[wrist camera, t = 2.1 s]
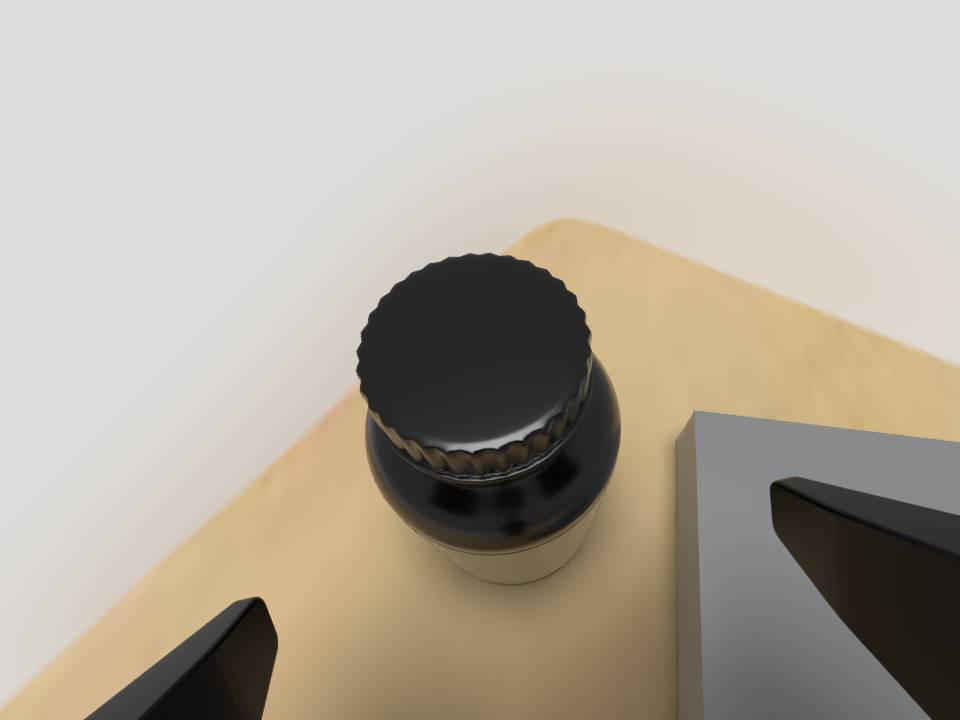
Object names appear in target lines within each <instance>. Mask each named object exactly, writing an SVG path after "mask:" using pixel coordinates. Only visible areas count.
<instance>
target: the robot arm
mask: <svg viewBox="0 0 960 720" xmlns="http://www.w3.org/2000/svg"><path fill="white" fill-rule="evenodd" d="M770 503H771V515H772V524H773V528H774V531H775V533H776V535H777V537H778V538H779V540H780V541H781V542H782V543H783V545H784V546H785V547H786V549H787V550H788V551H789V553H790V554H791V555H792V557H793V558H794V559H795V561H796V562H797V563H798V565H799V566H800V567H801V569H802V570H803V571H804V573H805V574H806V575H807V577H808V578H809V579H810V580H811V582H812V583H813V584H814V586H815V587H816V588H817V590H818V591H819V592H820V594H821V595H822V596H823V598H824V599H825V600H826V602H827V603H828V604H829V606H830V607H831V608H832V609H833V611H834V612H835V613H836V614H837V615H838V617H839V618H840V619H841V620H842V621H843V623H844V624H845V625H846V626H847V627H848V628H849V629H850V631H851V632H852V633H853V634H854V635H855V636H856V637H857V638H858V639H859V641H860V642H861V643H862V644H863V645H864V646H865V647H866V648H867V649H868V650H869V652H870V653H871V654H872V655H873V656H874V657H875V658H876V659H877V660H878V661H879V663H880V664H881V665H882V666H883V667H884V668H885V669H886V670H887V671H888V672H889V674H890V675H891V676H892V677H893V678H894V679H895V680H896V681H897V682H898V683H899V685H900V686H901V687H902V688H903V689H904V690H905V691H906V692H907V693H908V694H909V695H910V697H911V698H912V699H913V700H914V701H915V702H916V703H917V704H918V705H919V706H920V708H921V709H922V710H923V711H924V712H925V713H926V714H927V715H928V716H929V717H930V719H931V720H960V515H957V514H953V513H948V512H944V511H940V510H936V509H932V508H927V507H923V506H919V505H915V504H911V503H907V502H902V501H898V500H894V499H890V498H886V497H882V496H877V495H873V494H869V493H865V492H861V491H856V490H852V489H848V488H844V487H840V486H836V485H831V484H827V483H823V482H819V481H815V480H811V479H806V478H802V477H797V476H792V477H788V478H784V479H779V480H775V481H773V482H772V483H771V484H770ZM277 650H278V636H277V632H276V630H275V627H274V625H273V622H272V619H271V617H270V614H269V612H268V609H267V606H266V604H265V602H264V600H263V599H262V598H260V597H252V598H247V599H243V600H238V601H236V602H234V603H232V604H231V605H230V606H229V607H227V608H226V609H225V610H224V611H222V612H221V613H220V614H218V615H217V616H216V617H215V618H213V619H212V620H211V621H209V622H208V623H207V624H206V625H204V626H203V627H202V628H200V629H199V630H198V631H197V632H195V633H194V634H193V635H192V636H190V637H189V638H188V639H186V640H185V641H184V642H183V643H181V644H180V645H179V646H177V647H176V648H175V649H174V650H172V651H171V652H170V653H168V654H167V655H166V656H165V657H163V658H162V659H161V660H160V661H158V662H157V663H156V664H154V665H153V666H152V667H151V668H149V669H148V670H147V671H145V672H144V673H143V674H142V675H140V676H139V677H138V678H136V679H135V680H134V681H133V682H131V683H130V684H129V685H128V686H126V687H125V688H124V689H122V690H121V691H120V692H119V693H117V694H116V695H115V696H113V697H112V698H111V699H110V700H108V701H107V702H106V703H104V704H103V705H102V706H101V707H99V708H98V709H97V710H96V711H94V712H93V713H92V714H90V715H89V716H88V717H87V718H85V719H84V720H262V716H263V711H264V707H265V703H266V698H267V694H268V690H269V685H270V681H271V677H272V672H273V668H274V664H275V659H276V655H277Z"/></svg>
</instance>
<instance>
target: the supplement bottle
mask: <svg viewBox="0 0 960 720" xmlns="http://www.w3.org/2000/svg"><path fill="white" fill-rule="evenodd" d="M591 339H592V334H591V331H590V329H589V327H588V326H587V325H586V313H585V312H584V311H583V309H582V308H580V307H579V306H578V302H577V297H576V295H575V294H573V293H572V292H570V291H568V290H567V289H566V286H565V284H564V282H563V281H562V280H560V279H557V278H555V277H552V275H551V274H550V272H549V271H548V270H547V269H543V268H539V267H536V266H535V265H534V264H532V263H531V262H530V261H525V260H517V259H515V258H514V257H512V256H510V255H506V256H498V255H495V254H492V253H486V254H482V255H476V254H471V253H469V254H467V255H463V256H461V257H448V258H446V259H444V260H442V261H441V262H437V263H430V264H428V265H427V266H425V267H424V268H423V269H422V270H419V271H415V272H412V273H411V274H410V275H409V276H408V277H407V278H406V279H405V280H403V281H401V282H399V283H397V284H395V285H394V286H393V288H392V289H391V291H390V292H389V293H388V294H386V295H385V296H383V297H382V298H381V299H380V301H379V303H378V306H377V308H376V309H375V310H373V311H372V312H371V313H370V314H369V318H368V324H367V325H366V326H365V328H364V329H363V330H362V332H361V341H362V342H361V344H360V345H359V347H358V349H357V351H356V352H357V356H358V359H359V363H358V365H357V369H356V373H357V376H358V378H359V379H360V381H361V384H360V393H361V395H362V397H363V398H364V400H365V401H366V402H367V404H368V410H367V416H366V423H365V446H366V452H367V458H368V462H369V466H370V470H371V472H372V475H373V478H374V480H375V482H376V484H377V486H378V488H379V490H380V492H381V494H382V495H383V497H384V498H385V500H386V501H387V503H388V504H389V505H390V506H391V508H392V509H393V510H394V511H395V512H396V514H397V515H398V516H399V517H400V518H401V519H402V520H403V521H404V522H405V523H406V524H407V525H408V526H409V527H411V528H412V529H413V530H414V531H415V532H417V533H418V534H419V535H420V536H421V537H423V538H424V539H425V540H426V541H427V542H429V543H430V544H431V545H432V546H433V547H435V548H436V549H437V550H438V551H440V552H441V553H442V554H443V555H444V556H446V557H447V558H448V559H449V560H450V561H452V562H453V563H454V564H456V565H457V566H458V567H460V568H461V569H463V570H464V571H466V572H468V573H469V574H471V575H473V576H475V577H477V578H480V579H483V580H486V581H489V582H494V583H500V584H521V583H527V582H532V581H535V580H538V579H541V578H543V577H545V576H547V575H549V574H551V573H553V572H555V571H556V570H558V569H559V568H560V567H562V566H563V565H564V564H565V563H566V562H568V561H569V560H570V559H571V558H572V557H573V555H574V554H575V553H576V552H577V551H578V549H579V548H580V546H581V545H582V543H583V541H584V540H585V538H586V536H587V534H588V532H589V530H590V527H591V525H592V523H593V520H594V518H595V515H596V513H597V510H598V508H599V506H600V503H601V501H602V498H603V496H604V493H605V491H606V488H607V486H608V483H609V481H610V478H611V476H612V473H613V470H614V467H615V464H616V460H617V455H618V450H619V445H620V435H621V417H620V410H619V404H618V400H617V396H616V393H615V390H614V387H613V384H612V382H611V380H610V378H609V376H608V374H607V372H606V370H605V368H604V367H603V365H602V363H601V362H600V361H599V359H598V358H597V357H596V355H595V354H594V353H593V352H592V350H591V347H590V346H591Z"/></svg>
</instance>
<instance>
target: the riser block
mask: <svg viewBox="0 0 960 720" xmlns="http://www.w3.org/2000/svg"><path fill="white" fill-rule="evenodd" d="M792 476H797V477H802V478H806V479H811V480H815V481H819V482H823V483H827V484H831V485H836V486H840V487H844V488H848V489H852V490H856V491H861V492H865V493H869V494H873V495H877V496H882V497H886V498H890V499H894V500H898V501H902V502H907V503H911V504H915V505H919V506H923V507H927V508H932V509H936V510H940V511H944V512H948V513H953V514H957V515H960V442H952V441H944V440H936V439H927V438H919V437H911V436H902V435H894V434H886V433H877V432H869V431H861V430H852V429H844V428H836V427H827V426H819V425H811V424H802V423H794V422H786V421H778V420H769V419H761V418H753V417H744V416H736V415H728V414H719V413H711V412H703V411H694V413H693V414H692V416H691V418H690V419H689V421H688V422H687V424H686V426H685V427H684V429H683V431H682V432H681V434H680V435H679V437H678V439H677V440H676V493H677V620H678V720H931V719H930V717H929V716H928V715H927V714H926V713H925V712H924V711H923V710H922V709H921V708H920V706H919V705H918V704H917V703H916V702H915V701H914V700H913V699H912V698H911V697H910V695H909V694H908V693H907V692H906V691H905V690H904V689H903V688H902V687H901V686H900V685H899V683H898V682H897V681H896V680H895V679H894V678H893V677H892V676H891V675H890V674H889V672H888V671H887V670H886V669H885V668H884V667H883V666H882V665H881V664H880V663H879V661H878V660H877V659H876V658H875V657H874V656H873V655H872V654H871V653H870V652H869V650H868V649H867V648H866V647H865V646H864V645H863V644H862V643H861V642H860V641H859V639H858V638H857V637H856V636H855V635H854V634H853V633H852V632H851V631H850V629H849V628H848V627H847V626H846V625H845V624H844V623H843V621H842V620H841V619H840V618H839V617H838V615H837V614H836V613H835V612H834V611H833V609H832V608H831V607H830V606H829V604H828V603H827V602H826V600H825V599H824V598H823V596H822V595H821V594H820V592H819V591H818V590H817V588H816V587H815V586H814V584H813V583H812V582H811V580H810V579H809V578H808V577H807V575H806V574H805V573H804V571H803V570H802V569H801V567H800V566H799V565H798V563H797V562H796V561H795V559H794V558H793V557H792V555H791V554H790V553H789V551H788V550H787V549H786V547H785V546H784V545H783V543H782V542H781V541H780V540H779V538H778V537H777V535H776V533H775V531H774V528H773V524H772V515H771V503H770V484H771V483H772V482H773V481H775V480H779V479H784V478H788V477H792Z"/></svg>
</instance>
